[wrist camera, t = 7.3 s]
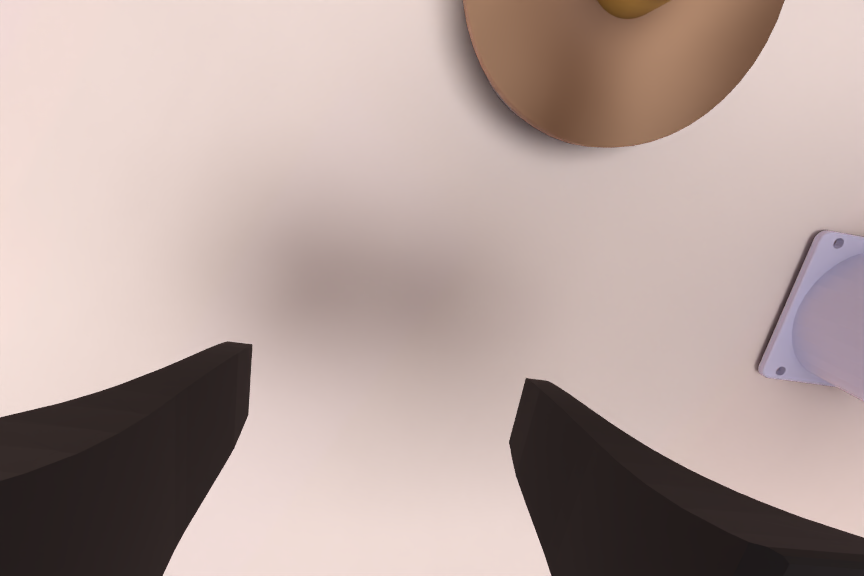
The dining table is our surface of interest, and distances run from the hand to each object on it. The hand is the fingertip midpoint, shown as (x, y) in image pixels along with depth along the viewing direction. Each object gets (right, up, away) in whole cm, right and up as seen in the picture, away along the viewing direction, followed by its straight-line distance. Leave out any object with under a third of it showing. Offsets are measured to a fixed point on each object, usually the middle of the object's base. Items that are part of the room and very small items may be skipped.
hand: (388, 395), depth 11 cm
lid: (+8, +13, +4) cm, 16 cm away
